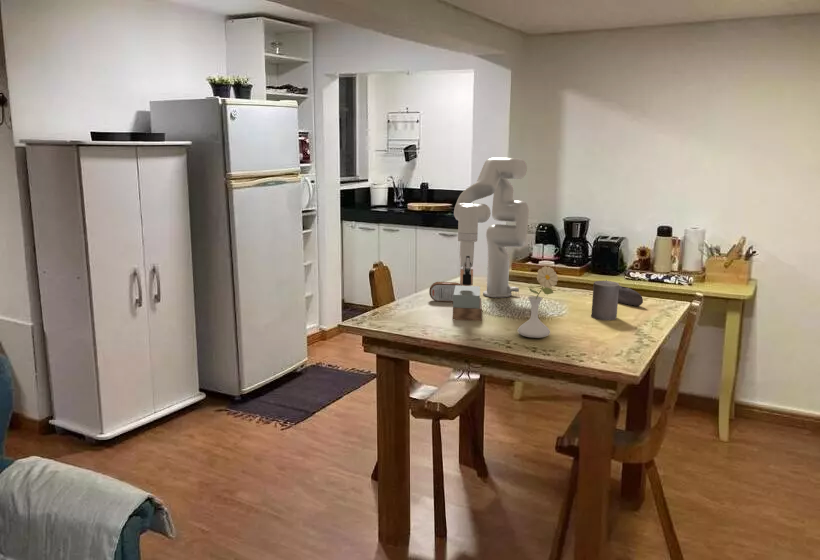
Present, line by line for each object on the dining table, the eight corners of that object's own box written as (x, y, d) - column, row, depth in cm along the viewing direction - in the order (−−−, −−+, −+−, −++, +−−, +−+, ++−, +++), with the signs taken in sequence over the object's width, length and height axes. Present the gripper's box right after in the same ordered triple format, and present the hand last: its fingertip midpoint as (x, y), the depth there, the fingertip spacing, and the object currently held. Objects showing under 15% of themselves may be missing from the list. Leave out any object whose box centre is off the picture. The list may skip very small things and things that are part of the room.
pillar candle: (586, 315, 263) (588, 278, 260) (606, 313, 267) (608, 276, 263) (601, 321, 254) (604, 283, 251) (622, 319, 258) (625, 281, 255)
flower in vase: (519, 340, 228) (522, 268, 223) (515, 331, 240) (518, 262, 235) (557, 341, 228) (561, 269, 223) (552, 332, 239) (555, 263, 234)
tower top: (479, 298, 271) (480, 286, 270) (479, 308, 254) (479, 295, 253) (455, 297, 272) (455, 285, 271) (453, 307, 255) (453, 294, 254)
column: (472, 283, 264) (472, 268, 263) (473, 285, 259) (473, 270, 258) (459, 283, 264) (460, 268, 263) (460, 285, 259) (460, 270, 258)
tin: (464, 301, 285) (464, 282, 284) (464, 303, 282) (464, 283, 281) (429, 300, 287) (429, 281, 285) (428, 301, 284) (429, 282, 282)
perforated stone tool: (646, 307, 277) (647, 291, 276) (637, 308, 275) (638, 292, 273) (619, 300, 290) (620, 284, 289) (610, 301, 288) (611, 285, 286)
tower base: (480, 309, 273) (481, 297, 272) (481, 321, 254) (481, 308, 253) (453, 308, 274) (454, 297, 273) (452, 320, 255) (452, 308, 254)
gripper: (457, 234, 266) (455, 278, 270) (458, 240, 249) (457, 287, 253) (475, 234, 266) (474, 279, 269) (479, 240, 249) (477, 287, 253)
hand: (466, 282), depth 261 cm, fingers closed on column, 5 cm apart
